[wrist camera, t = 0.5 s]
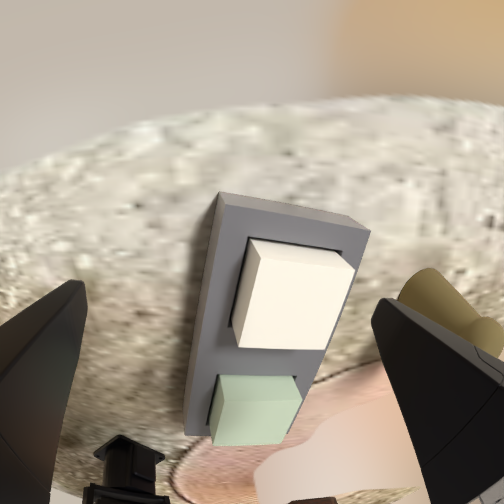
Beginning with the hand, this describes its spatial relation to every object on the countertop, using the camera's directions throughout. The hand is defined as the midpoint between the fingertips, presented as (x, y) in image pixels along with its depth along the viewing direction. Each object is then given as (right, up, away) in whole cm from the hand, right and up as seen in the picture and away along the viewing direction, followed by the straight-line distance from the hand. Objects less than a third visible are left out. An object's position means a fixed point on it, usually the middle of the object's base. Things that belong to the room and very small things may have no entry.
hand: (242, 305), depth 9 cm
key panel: (+1, -5, +17) cm, 18 cm away
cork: (+17, -3, +21) cm, 27 cm away
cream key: (+2, -1, +13) cm, 13 cm away
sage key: (0, -11, +17) cm, 20 cm away
